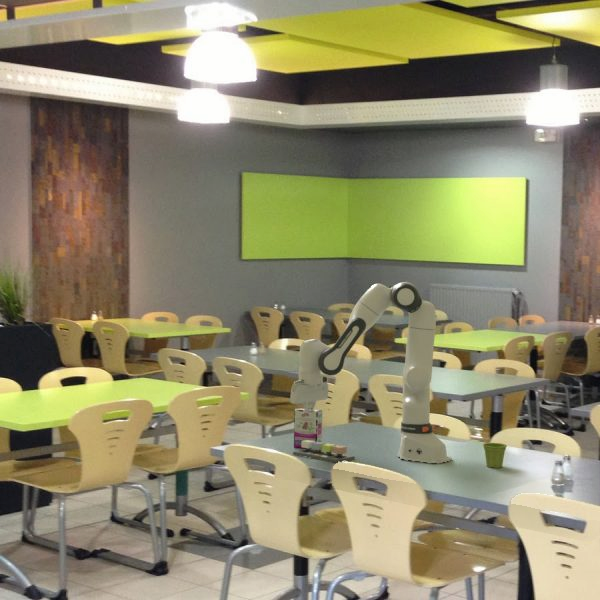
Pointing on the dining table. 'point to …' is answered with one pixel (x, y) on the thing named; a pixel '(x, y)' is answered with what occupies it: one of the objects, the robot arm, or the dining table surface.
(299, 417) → the candy bar box
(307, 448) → the key ivory
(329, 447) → the lime green cube
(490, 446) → the plant pot
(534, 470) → the dining table surface
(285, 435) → the dining table surface
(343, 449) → the salmon cube
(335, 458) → the keypad board
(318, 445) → the key slate
